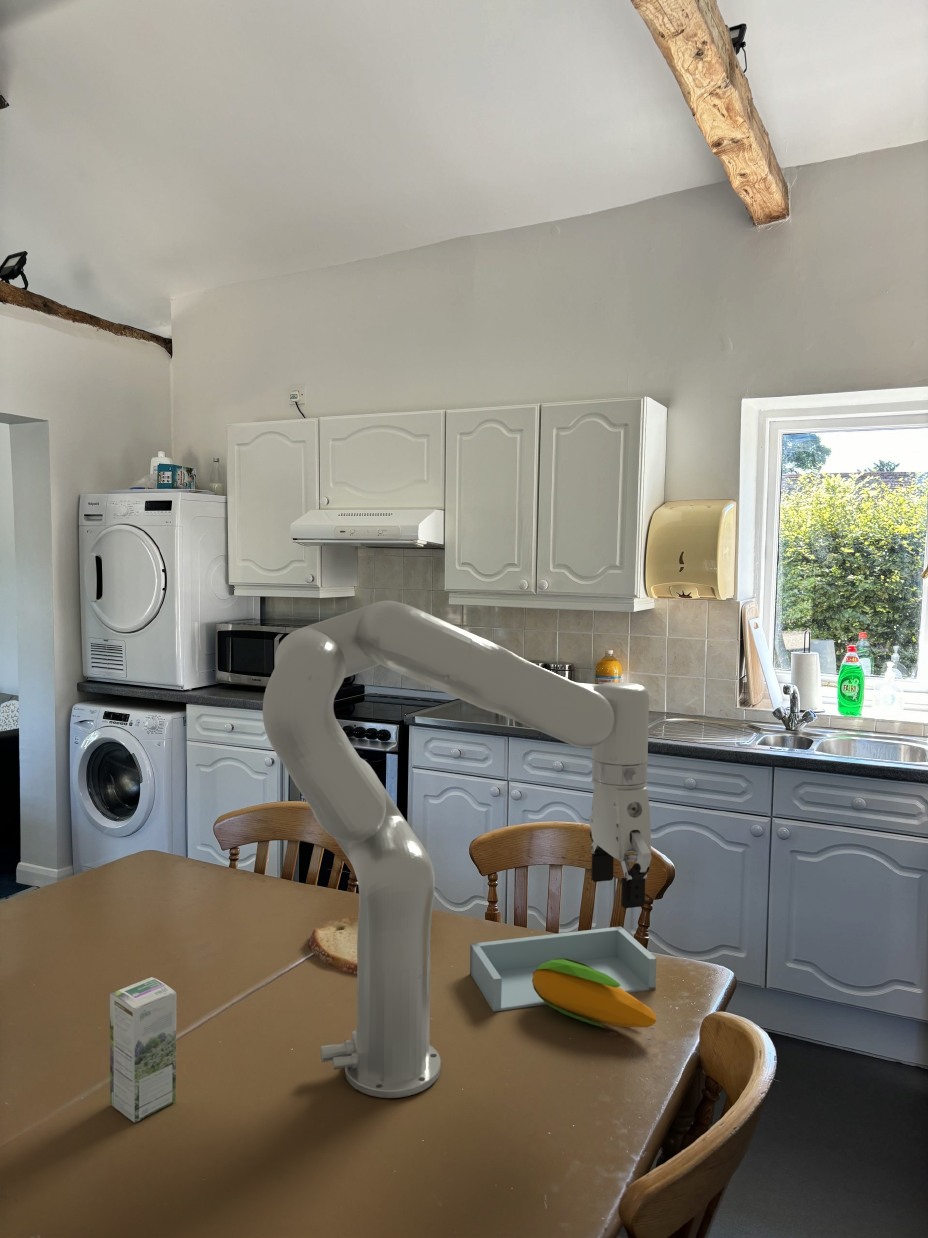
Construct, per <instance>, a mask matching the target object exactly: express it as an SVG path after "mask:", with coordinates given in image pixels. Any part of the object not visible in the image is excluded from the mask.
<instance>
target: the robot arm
mask: <svg viewBox="0 0 928 1238" xmlns="http://www.w3.org/2000/svg"><path fill="white" fill-rule="evenodd" d="M380 665H381V666H382V667H385V669H386V668H387V669H389V670H391V671H393V672H396V673H398V674H400V675H403V676H406V677H408V678H410V679H412V680H415V681H417V682H420V683H422V684H425V685H427V686H429V687H431V688H434V689H436V690H439V691H440V692H443V693H445V694H447V695H450V696H452V697H455V698H457V699H460V700H461V701H464V702H466V703H468V704H470V705H473V706H475V707H477V708H480V709H482V710H486V711H488V712H492V713H495V714H498V715H500V716H503V717H505V718H508V719H511V720H514V721H515V722H517V723H520V724H522V725H524V726H526V727H528V728H529V727H530V728H531V729H534V730H536V731H538V732H541V733H543V734H546V735H548V736H550V737H552V738H555V739H558V740H560V741H561V742H564V743H566V744H570V745H571V746H574V747H577V748H582V749H583V748H584V749H587V748H588V749H589V748H592V756H591V757H592V760H591V761H592V763H591V764H592V765H591V770H592V771H591V782H592V784H593V790H592V791H593V792H592V803H591V815H590V816H589V817H588V822H589V828H590V833H589V838H590V839H591V842H592V843H591V844H590V851H591V880H592V881H593V883H598V882H607V881H613V879H614V862H615V861H614V859H615V860H617V861H619V862H620V864H621V869H622V871H623V875H624V877H622V878H621V893H620V894H621V895H620V896H621V898H620V899H621V901H620V903H621V907H622V908H623V909H631V908H640V907H641V908H642V907H644V906H645V905H646V904H645V903H646V879H648V872H649V870H650V864H651V861H652V835H651V834H652V832H651V831H652V829H651V811H650V810H651V809H650V808H651V807H650V801H649V795H648V789H647V787H646V786H647V785H648V752H649V750H648V749H649V748H648V747H649V713H650V711H649V710H650V705H649V704H650V696H649V692H648V690H647V688H646V687H645V686H643V685H641V684H639V683H635V682H634V683H633V682H625V681H623V682H621V681H613V682H611V681H610V682H604V683H601V684H597V683H583V682H577V681H572V680H570V679H568V678H566V677H564V676H561V675H559V674H557V673H555V672H553V671H550V670H548V669H546V668H543V667H542V666H539V665H538V664H535V663H533V662H531V661H529V660H527V659H524V658H523V657H521V656H519V655H517V654H516V653H514V652H512V651H510V650H508V649H506V648H505V647H503V646H501V645H499V644H496V643H494V642H492V641H490V640H488V639H486V638H484V637H481V636H478V635H477V634H475V633H472V632H470V631H468V630H466V629H463V628H460V627H459V626H457V625H454V624H452V623H449V622H448V621H445V620H443V619H441V618H438V617H436V616H434V615H432V614H430V613H427V612H426V611H423V610H421V609H419V608H417V607H415V606H412V605H409V604H407V603H404V602H403V603H402V602H399V601H396V600H395V601H394V600H391V599H390V600H389V599H388V600H381V601H376V602H372V603H369V604H368V605H365V606H361V607H359V608H356V609H354V610H350V611H349V612H346V613H343V614H339V615H337V616H336V615H335V616H333V617H330V618H327V619H325V620H321V621H318V622H315V623H313V624H309V625H307V626H303V627H300V628H298V629H295V630H293V631H291V632H290V633H289V634H288V635H286V636H285V637H284V638H283V639H281V641H280V642H279V645H278V646H277V649H276V651H275V655H274V669H273V671H272V672H271V676H270V677H269V679H268V682H267V684H266V687H265V692H264V694H263V701H262V720H263V726H264V731H265V733H266V736H267V738H268V742H269V743H270V745H271V747H272V749H273V751H274V752H275V754H276V756H277V757H278V759H279V760H280V762H281V764H282V765H283V766H284V768H285V770H286V771H287V772H288V774H289V776H290V778H291V780H292V782H294V783H293V784H295V786H296V788H297V789H298V790H299V792H300V793H301V795H302V797H303V798H304V800H305V801H306V803H307V805H309V808H310V809H311V811H312V813H313V816H314V818H315V820H316V821H317V823H318V824H319V826H320V827H321V828H322V829H323V830H324V831H325V832H326V833H327V834H328V835H330V836H331V837H332V838H334V839H335V841H336V844H338V846H339V847H340V849H341V850H342V851H343V853H344V854H345V856H346V857H347V859H348V860H349V862H350V864H351V866H352V869H353V870H354V874H355V877H356V880H357V885H358V895H359V896H358V897H359V901H358V905H359V906H358V915H357V917H358V930H357V974H356V975H357V976H356V981H357V982H356V983H357V984H356V985H357V987H356V999H357V1001H356V1005H357V1006H356V1008H357V1009H356V1014H357V1015H356V1020H357V1021H356V1030H353V1031H351V1039H347V1040H344V1043H339V1044H338V1043H337V1044H328V1045H327V1044H326V1045H321V1046H320V1059H321V1063H327V1062H332V1068H333V1070H335V1071H336V1070H339V1069H344V1075H345V1079H346V1080H347V1082H348V1083H349V1084H350V1086H352V1087H353V1088H354V1089H355V1090H356V1091H359V1092H360V1093H362V1094H366V1095H368V1096H371V1097H374V1098H375V1097H376V1098H382V1099H397V1098H403V1097H404V1098H405V1097H409V1096H411V1095H412V1096H413V1095H416V1094H418V1093H421V1092H422V1091H425V1090H426V1089H428V1088H429V1087H431V1086H432V1085H433V1084H434V1083H435V1082H436V1081H437V1080H438V1079H439V1076H440V1074H441V1067H442V1066H441V1065H442V1062H441V1057H440V1054H439V1053H438V1051H437V1050H436V1049H435V1048H434V1047H433V1046H432V1045H431V1044H430V1024H431V1023H430V1019H431V1018H430V1009H431V1005H430V1004H431V1001H430V1000H431V999H430V998H431V928H432V927H431V924H432V913H433V904H434V899H435V885H436V880H435V879H436V878H435V870H434V867H433V863H432V861H431V857H430V855H429V854H428V851H427V849H425V847H424V845H423V844H422V842H421V841H420V839H419V838H418V837H417V835H416V834H415V832H414V831H413V829H412V828H411V826H410V824H409V823H408V822H407V820H406V818H405V817H404V816H403V814H402V813H401V811H400V810H399V808H398V806H397V805H396V803H395V802H394V800H393V799H392V797H391V796H390V794H389V792H388V791H387V790H386V788H385V787H384V785H383V783H382V781H380V779H379V777H378V775H377V773H376V771H375V770H374V769H373V768H372V766H371V765H370V764H369V763H368V762H367V761H366V760H365V759H363V758H362V757H360V755H359V754H358V752H357V751H356V749H355V747H354V746H353V744H352V743H351V742H350V740H349V737H348V736H347V734H346V732H345V731H344V730H343V728H342V727H341V725H340V722H338V720H337V718H336V715H335V711H334V704H335V698H336V695H337V693H338V691H339V689H340V688H341V687H342V684H343V683H344V680H345V678H348V677H352V676H354V675H357V674H359V673H362V672H365V671H368V670H370V669H373V668H375V667H377V666H380ZM631 862H635V863H634V864H633V865H632V866H631V868H630V863H631Z"/></svg>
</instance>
